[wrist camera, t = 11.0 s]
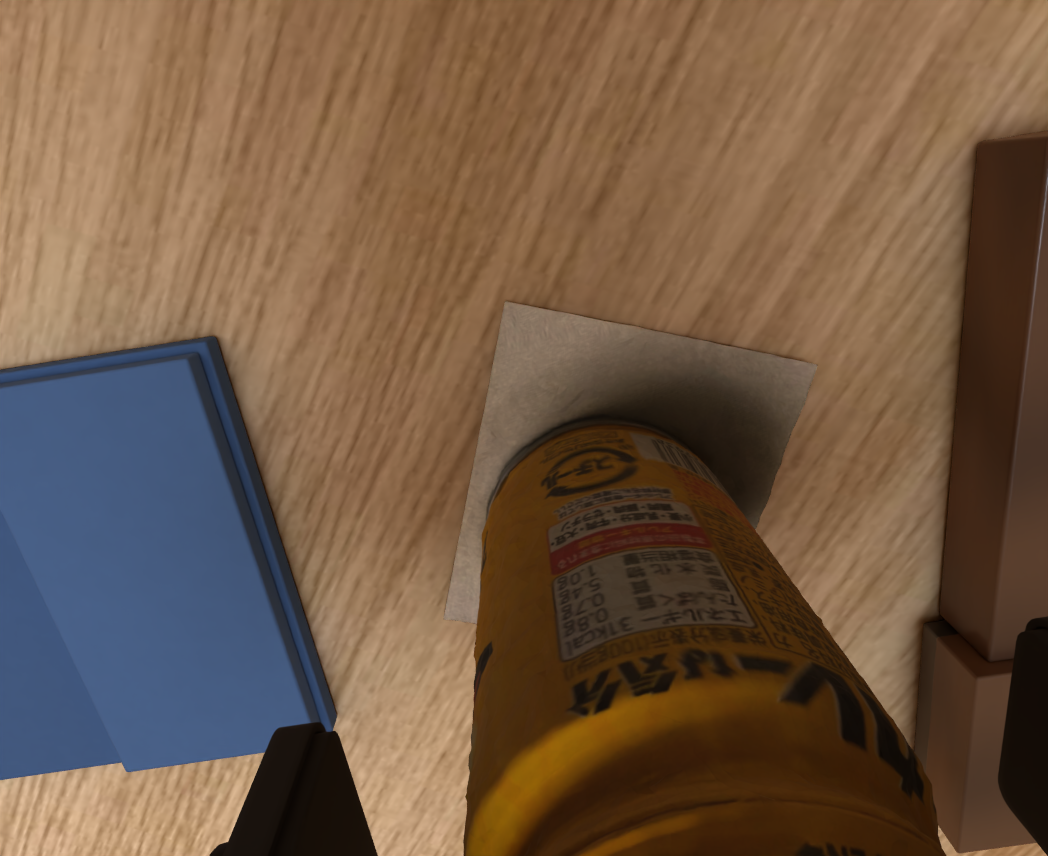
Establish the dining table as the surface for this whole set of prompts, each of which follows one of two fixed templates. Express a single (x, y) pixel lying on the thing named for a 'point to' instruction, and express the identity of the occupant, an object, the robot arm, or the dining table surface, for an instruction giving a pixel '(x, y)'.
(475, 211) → the dining table surface
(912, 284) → the dining table surface
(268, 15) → the dining table surface
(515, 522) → the condiment
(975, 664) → the brown bar
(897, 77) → the dining table surface
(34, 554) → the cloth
